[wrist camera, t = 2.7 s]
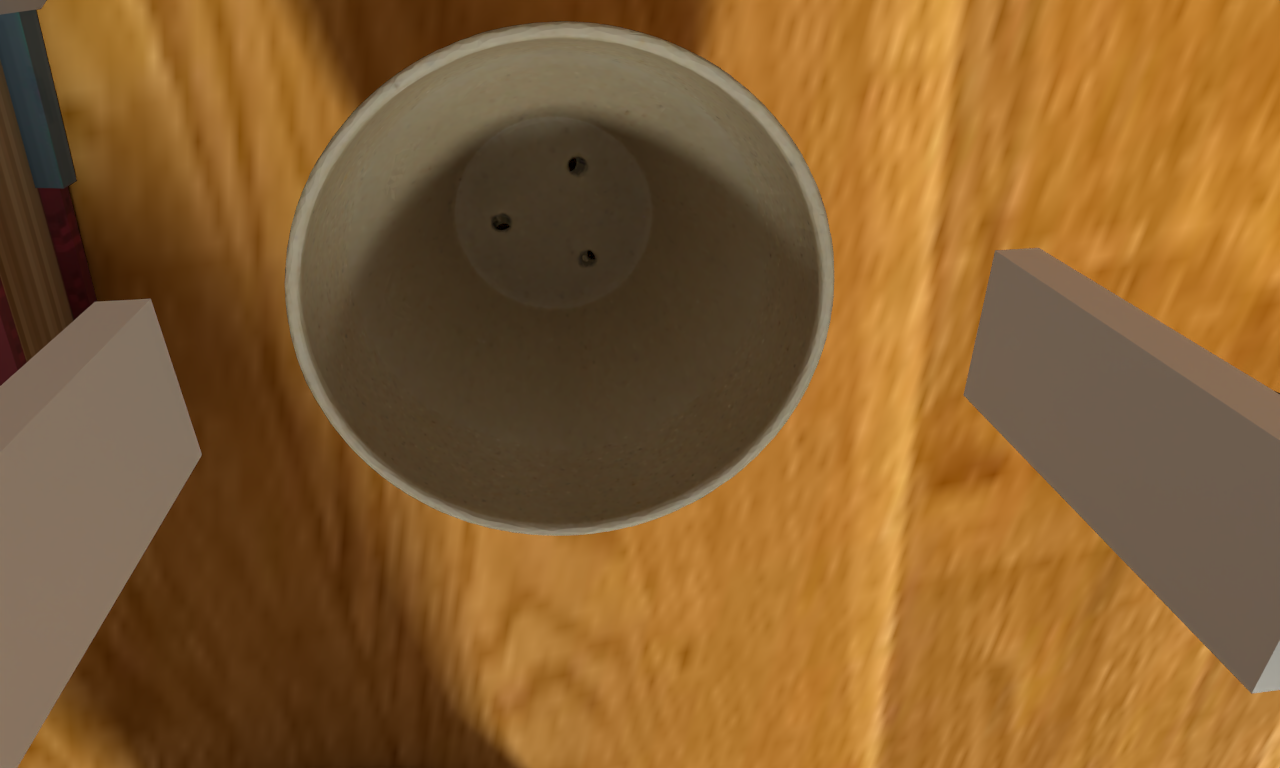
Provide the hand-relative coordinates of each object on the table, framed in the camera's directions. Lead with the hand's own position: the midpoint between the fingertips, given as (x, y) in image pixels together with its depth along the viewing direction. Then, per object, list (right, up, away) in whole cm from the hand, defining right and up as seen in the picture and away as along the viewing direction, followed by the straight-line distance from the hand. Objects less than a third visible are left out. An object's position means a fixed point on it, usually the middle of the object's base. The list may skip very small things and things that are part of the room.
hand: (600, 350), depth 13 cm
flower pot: (-2, +4, +8) cm, 9 cm away
